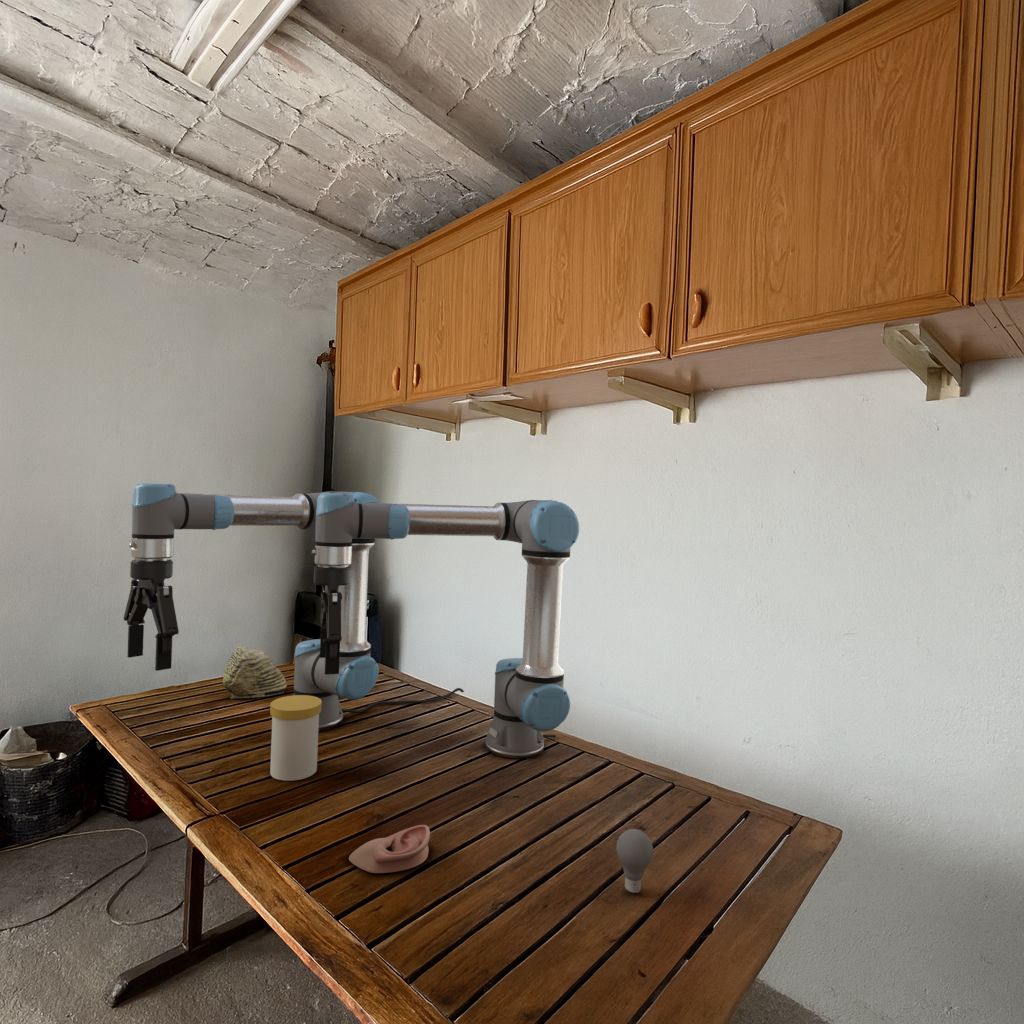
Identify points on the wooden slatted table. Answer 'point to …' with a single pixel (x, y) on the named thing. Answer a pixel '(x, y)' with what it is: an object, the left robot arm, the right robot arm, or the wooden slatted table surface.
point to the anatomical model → (393, 851)
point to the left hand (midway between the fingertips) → (148, 662)
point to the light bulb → (634, 857)
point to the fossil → (252, 674)
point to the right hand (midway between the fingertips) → (328, 665)
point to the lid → (295, 707)
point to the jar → (294, 748)
